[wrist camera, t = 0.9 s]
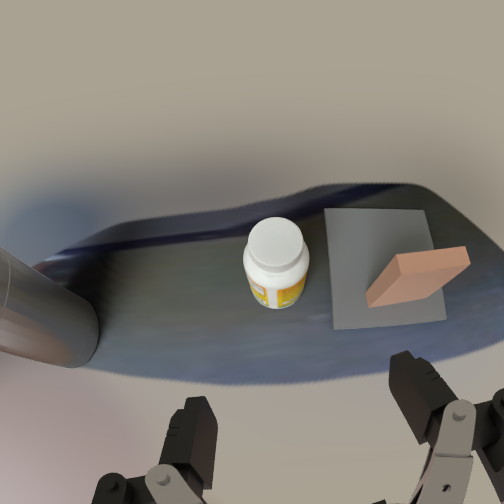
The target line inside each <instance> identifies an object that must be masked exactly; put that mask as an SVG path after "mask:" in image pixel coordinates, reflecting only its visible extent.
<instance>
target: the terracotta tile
mask: <svg viewBox="0 0 504 504" xmlns="http://www.w3.org/2000/svg"><path fill="white" fill-rule="evenodd" d="M470 264H471V263H470V260H469V257H468V254H467V251H466V248H465V246H462V247H454V248H446V249H438V250H430V251H422V252H413V253H405V254H396V255H395V256H394V258H393V259H392V260H391V262H390V263H389V264H388V266H387V267H386V268H385V269H384V271H383V272H382V273H381V274H380V276H379V277H378V278H377V279H376V281H375V282H374V283H373V284H372V285H371V287H370V288H369V289H368V290H367V291H366V298H367V304H368V308H370V307H377V306H383V305H389V304H395V303H401V302H407V301H412V300H418V299H423V298H427V297H428V296H430V295H431V294H432V293H434V292H435V291H437V290H438V289H439V288H441V287H442V286H443V285H445V284H446V283H447V282H449V281H450V280H451V279H453V278H454V277H455V276H456V275H458V274H459V273H460V272H462V271H463V270H464V269H465V268H466V267H468V266H469V265H470Z"/></svg>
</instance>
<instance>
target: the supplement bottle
mask: <svg viewBox="0 0 504 504" xmlns="http://www.w3.org/2000/svg"><path fill="white" fill-rule="evenodd" d="M243 262H244V267H245V271H246V274H247V277H248V280H249V284H250V287H251V290H252V293H253V295H254V297H255V298H256V299H257V300H258V301H259V302H260V303H261V304H262V305H264V306H266V307H269V308H273V309H281V308H285V307H288V306H290V305H291V304H293V303H294V302H295V301H297V299H298V298H299V297H300V295H301V294H302V291H303V288H304V284H305V279H306V275H307V271H308V266H309V251H308V248H307V246H306V244H305V242H304V241H303V236H302V233H301V231H300V229H299V228H298V226H297V225H296V224H294V223H293V222H292V221H290V220H288V219H285V218H280V217H272V218H267V219H265V220H263V221H261V222H259V223H258V224H256V225H255V226H254V228H253V229H252V231H251V232H250V235H249V239H248V244H247V245H246V248H245V251H244V256H243Z"/></svg>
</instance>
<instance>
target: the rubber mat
mask: <svg viewBox="0 0 504 504" xmlns="http://www.w3.org/2000/svg"><path fill="white" fill-rule="evenodd" d="M324 216H325V225H326V235H327V245H328V256H329V269H330V283H331V299H332V320H333V330H341V329H359V328H374V327H386V326H397V325H407V324H417V323H425V322H434V321H441V320H445V319H447V317H446V309H445V303H444V296H443V290H442V287H441V288H439V289H438V290H437V291H435V292H434V293H432V294H431V295H430V296H428V297H427V298H423V299H418V300H412V301H407V302H401V303H395V304H389V305H383V306H377V307H370V308H368V304H367V298H366V291H367V290H368V289H369V288H370V287H371V285H372V284H373V283H374V282H375V281H376V279H377V278H378V277H379V276H380V274H381V273H382V272H383V271H384V269H385V268H386V267H387V266H388V264H389V263H390V262H391V260H392V259H393V258H394V256H395V255H396V254H405V253H413V252H422V251H430V250H434V246H433V242H432V238H431V235H430V231H429V227H428V223H427V220H426V216H425V213H424V210H405V209H357V208H324Z"/></svg>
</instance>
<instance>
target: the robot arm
mask: <svg viewBox="0 0 504 504" xmlns="http://www.w3.org/2000/svg"><path fill="white" fill-rule="evenodd" d="M98 336H99V323H98V319H97V315H96V313H95V310H94V308H93V307H92V305H91V304H90V303H89V302H88V301H87V300H85V299H83V298H82V297H80V296H78V295H76V294H74V293H73V292H71V291H69V290H67V289H66V288H64V287H62V286H61V285H59V284H57V283H56V282H54V281H52V280H51V279H49V278H47V277H46V276H44V275H42V274H41V273H39V272H38V271H36V270H34V269H33V268H31V267H30V266H28V265H27V264H25V263H24V262H22V261H21V260H19V259H18V258H16V257H15V256H13V255H11V254H10V253H9V252H7V251H6V250H5V249H3V248H1V247H0V351H2V352H5V353H8V354H11V355H15V356H19V357H22V358H26V359H30V360H34V361H38V362H43V363H47V364H51V365H55V366H60V367H65V368H78V367H80V366H82V365H84V364H85V363H86V362H87V361H88V360H89V359H90V358H91V356H92V355H93V353H94V351H95V348H96V346H97V342H98ZM389 387H390V391H391V393H392V395H393V397H394V399H395V400H396V402H397V404H398V406H399V407H400V409H401V411H402V413H403V415H404V416H405V418H406V420H407V422H408V424H409V426H410V428H411V430H412V432H413V433H414V435H415V437H416V439H417V441H418V443H419V444H420V445H421V444H423V443H425V442H427V441H428V443H429V445H430V448H429V451H428V454H427V457H426V461H425V464H424V467H423V470H422V473H421V476H420V478H419V481H418V484H417V486H416V488H415V490H414V492H413V495H412V497H411V499H410V501H409V503H408V504H463V501H464V498H465V494H466V491H467V486H468V483H469V478H470V474H471V469H472V465H473V456H471V451H473V450H476V452H477V454H478V456H479V458H480V460H481V462H482V464H483V466H484V468H485V470H486V472H487V474H488V476H489V478H490V480H491V482H492V484H493V486H494V488H495V490H496V492H497V495H498V497H499V500H500V502H501V504H504V388H503V389H500V390H499V391H497V392H496V393H495V395H494V396H493V399H492V400H490V401H487V402H483V403H479V404H472V403H471V402H469V401H467V400H459V399H458V398H457V397H456V395H455V394H454V393H453V391H452V390H451V389H450V388H449V386H448V385H447V384H446V382H445V381H444V380H443V379H442V378H441V377H440V375H439V374H438V372H436V371H435V369H434V367H433V366H432V365H431V364H430V362H428V361H426V360H424V359H422V358H421V357H419V358H417V359H415V358H414V357H413V356H412V355H411V353H410V352H409V351H407V350H406V351H404V352H401V353H398V354H395V355H392V356H391V358H390V370H389ZM217 432H218V425H217V420H216V418H215V416H214V413H213V412H212V409H211V407H210V405H209V403H208V401H207V399H206V397H205V396H200V397H189V398H187V399H186V402H185V406H184V409H178V410H177V411H176V412H175V414H174V415H173V416H172V418H171V420H170V424H169V429H168V431H167V434H166V435H167V436H166V438H165V442H164V446H163V449H162V453H161V457H160V460H159V464H158V465H157V466H154V467H153V468H151V469H150V470H149V471H148V472H147V474H146V475H145V476H140V477H135V478H129V479H125V478H124V477H123V476H122V475H121V474H118V473H108V474H106V475H104V476H103V477H101V479H100V480H99V481H98V484H97V487H96V490H95V494H94V497H93V500H92V503H91V504H207V502H206V501H205V500H204V499H203V498H202V494H203V489H212V481H213V471H214V460H215V451H216V441H217ZM373 504H386V501H385V499H384V500H382V501H379V502H376V503H373Z"/></svg>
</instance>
